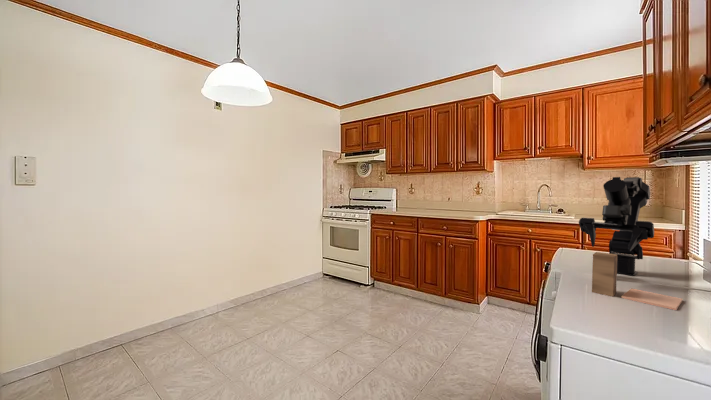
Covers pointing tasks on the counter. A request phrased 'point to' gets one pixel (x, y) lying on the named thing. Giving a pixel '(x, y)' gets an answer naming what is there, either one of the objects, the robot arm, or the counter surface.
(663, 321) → the counter surface
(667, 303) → the terracotta tile
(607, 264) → the walnut block
